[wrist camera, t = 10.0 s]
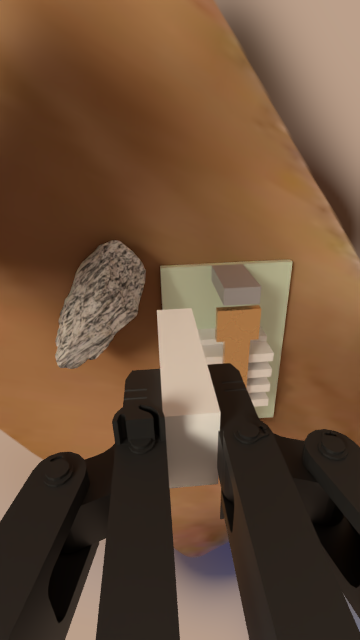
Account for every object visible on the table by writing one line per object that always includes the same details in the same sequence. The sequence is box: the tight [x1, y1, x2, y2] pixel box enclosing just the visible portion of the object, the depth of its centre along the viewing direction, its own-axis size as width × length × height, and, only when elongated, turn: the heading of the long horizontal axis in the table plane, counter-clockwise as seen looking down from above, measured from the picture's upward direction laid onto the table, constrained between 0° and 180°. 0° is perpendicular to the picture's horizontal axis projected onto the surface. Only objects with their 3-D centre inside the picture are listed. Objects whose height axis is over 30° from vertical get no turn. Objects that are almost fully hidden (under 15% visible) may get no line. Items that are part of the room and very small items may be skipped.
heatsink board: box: [160, 259, 293, 418], centre depth 46 cm, size 17×26×9 cm, turn 1°
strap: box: [215, 305, 261, 387], centre depth 44 cm, size 21×5×1 cm, turn 1°
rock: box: [55, 240, 146, 369], centre depth 41 cm, size 16×8×10 cm, turn 131°
